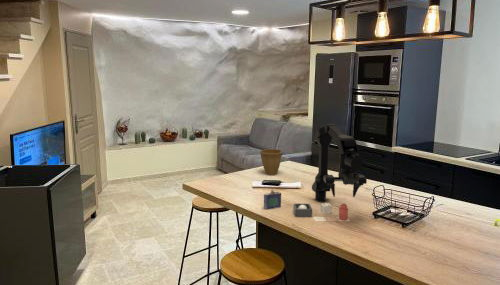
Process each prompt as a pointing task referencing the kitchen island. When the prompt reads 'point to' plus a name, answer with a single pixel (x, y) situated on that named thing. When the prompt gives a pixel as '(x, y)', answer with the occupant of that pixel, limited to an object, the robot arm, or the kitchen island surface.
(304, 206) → the dome
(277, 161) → the plant pot
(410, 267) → the kitchen island surface
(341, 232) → the kitchen island surface
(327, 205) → the beige cube
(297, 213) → the button housing
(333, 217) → the board
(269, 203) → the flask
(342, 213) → the pawn
